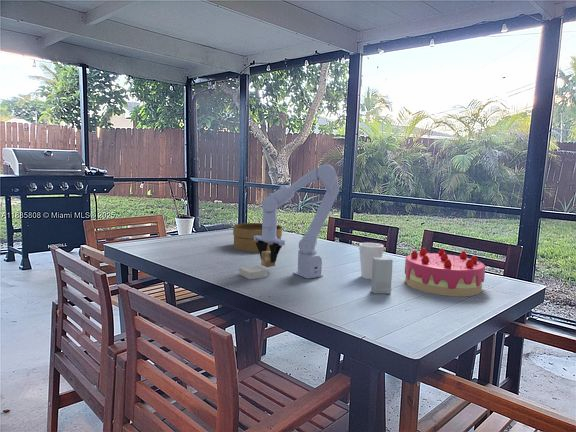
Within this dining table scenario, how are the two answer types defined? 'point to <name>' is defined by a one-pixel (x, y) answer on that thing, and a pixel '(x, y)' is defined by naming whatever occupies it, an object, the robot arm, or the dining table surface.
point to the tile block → (253, 272)
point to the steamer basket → (250, 236)
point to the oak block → (266, 259)
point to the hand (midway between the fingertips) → (268, 260)
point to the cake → (444, 273)
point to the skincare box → (381, 275)
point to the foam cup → (369, 257)
